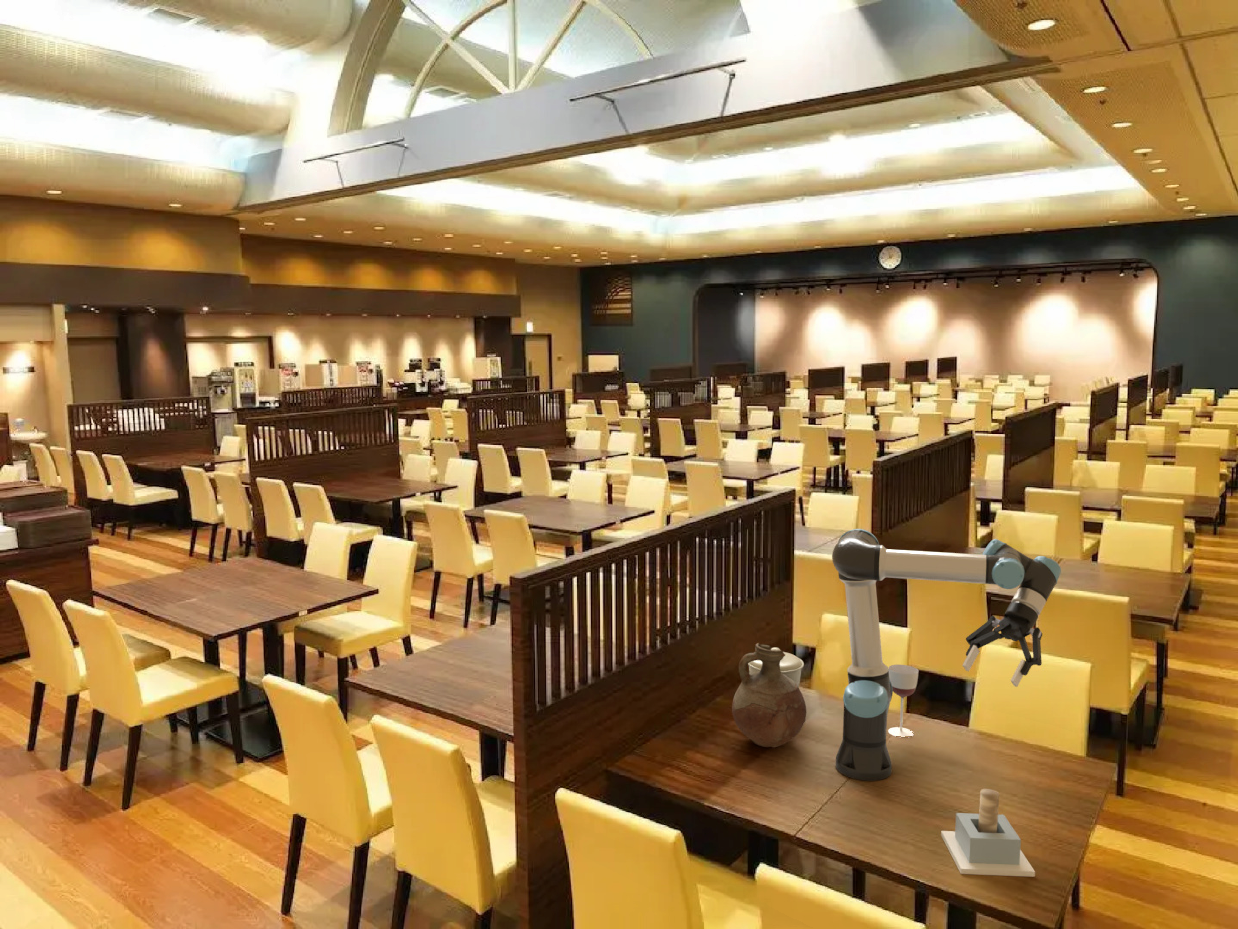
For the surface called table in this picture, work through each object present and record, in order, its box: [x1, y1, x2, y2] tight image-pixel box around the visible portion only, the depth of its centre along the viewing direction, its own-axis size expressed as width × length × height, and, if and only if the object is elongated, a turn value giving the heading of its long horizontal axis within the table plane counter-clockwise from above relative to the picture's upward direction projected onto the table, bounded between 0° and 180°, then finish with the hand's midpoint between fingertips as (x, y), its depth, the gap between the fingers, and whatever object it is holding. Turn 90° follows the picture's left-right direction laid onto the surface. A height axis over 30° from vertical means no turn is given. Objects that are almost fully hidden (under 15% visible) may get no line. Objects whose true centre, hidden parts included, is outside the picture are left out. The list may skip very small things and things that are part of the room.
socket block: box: [940, 812, 1036, 877], centre depth 209 cm, size 16×16×7 cm
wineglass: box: [887, 664, 919, 738], centre depth 275 cm, size 8×9×20 cm
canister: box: [747, 646, 805, 688], centre depth 291 cm, size 18×18×21 cm
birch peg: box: [978, 788, 1000, 833], centre depth 208 cm, size 4×4×14 cm
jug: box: [731, 642, 807, 748], centre depth 267 cm, size 22×22×30 cm
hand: (989, 676), depth 233 cm, fingers open, 13 cm apart
